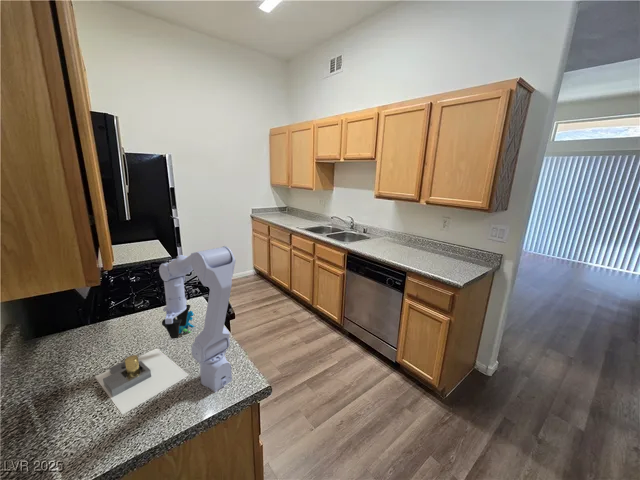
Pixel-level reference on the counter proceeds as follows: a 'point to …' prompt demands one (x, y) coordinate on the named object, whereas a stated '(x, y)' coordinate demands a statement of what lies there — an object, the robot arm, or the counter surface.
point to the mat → (147, 381)
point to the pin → (132, 366)
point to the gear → (187, 324)
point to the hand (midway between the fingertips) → (178, 331)
